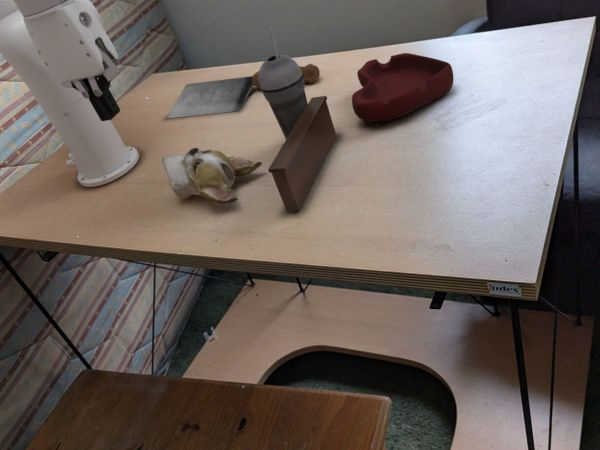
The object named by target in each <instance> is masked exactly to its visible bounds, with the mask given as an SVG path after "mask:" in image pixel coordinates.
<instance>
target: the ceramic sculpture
mask: <svg viewBox="0 0 600 450" xmlns="http://www.w3.org/2000/svg"><path fill="white" fill-rule="evenodd" d="M161 158H162V159H161V161H162V165H163V169H164V171H165V174H166V177H167V179H168V182H169V185H170V189H171V190H172V191H173V193H174V194H175V195H176V196H177V197H179V198H180V199H188V198H189V197H190V196H192V195H195V196H202V197H203V198H205V199H207V200H208V201H209V202H211V203H213V204H215V205H221V206H222V205H227V204H231V203H234V202H236V201H238V197H237V196H236V195H235V192H234V190H233V189H232V186H233V184H234V183H235V177H236V178H241V177H245V176H246V177H247V176H249V175H250V174H251V173H253V172H255V171H256V170H257V169H259V168H260V167H261V166H262V165H263V161H256V162H253V161H251V160H247V159H245V158H242V157H235V156H227V154H225V153H223V152H221V151H220V150H213V149H207V150H201V149H200V148H197V147H193V148H190V149H189V150H188V151H187V152H186V153H185V154H184V155H182V154H175V155H169V156H162V157H161Z"/></svg>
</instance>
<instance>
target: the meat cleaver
mask: <svg viewBox="0 0 600 450" xmlns="http://www.w3.org/2000/svg"><path fill="white" fill-rule="evenodd" d="M298 66H299V67H300V70H301V71H302V73H303V75H304V76H303V79H304V83H305V82H308V83H314V82H316V81H317V80H318V79H319V78H320V76H321V75H320V73H321V72H320V68H319V66H317V65H315V64H312V63H308V64H307V65H305V66H302V65H301V66H300V65H298ZM259 71H260V70H258V71H257V72H255V73H254V74H253V75H250V76H243V77H242V76H241V77H235V78H225V79H218V80H217V79H216V80H209V81H201V82H193V83H187V84H185V85H184V87H183V89H182V91H181V92H180V94H179V96H178V98H177V100H176V102H175V104H174V105H173V107H172V109H171V111H170V112H169V114H168V116H167V119H174V118H184V117H185V118H186V117H195V116H202V115H213V114H222V113H223V114H224V113H231V112H240V111H241V109H242V107H243V105H244V103H245V102H246V100H247V98H248V96H249V94H250V93H251V91H252V89H253V88H254V87H255V88H258V89H260V84H259Z"/></svg>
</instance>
